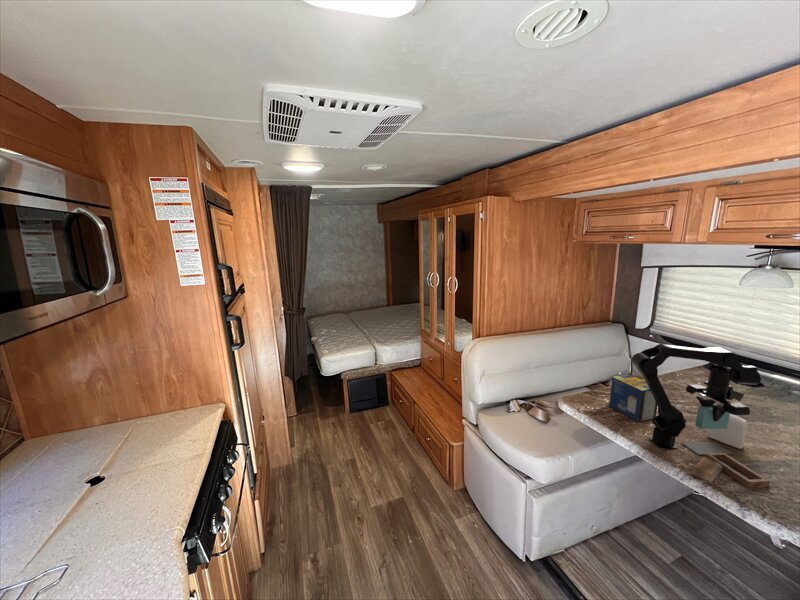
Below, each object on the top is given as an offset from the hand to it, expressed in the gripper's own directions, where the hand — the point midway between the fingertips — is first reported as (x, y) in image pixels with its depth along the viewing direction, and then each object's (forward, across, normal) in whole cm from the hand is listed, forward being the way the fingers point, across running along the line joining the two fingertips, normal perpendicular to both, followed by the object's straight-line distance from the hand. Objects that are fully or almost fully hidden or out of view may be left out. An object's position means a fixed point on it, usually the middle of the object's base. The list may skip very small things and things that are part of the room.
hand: (711, 419), depth 119 cm
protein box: (+13, +28, +8) cm, 32 cm away
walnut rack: (+13, -12, +2) cm, 18 cm away
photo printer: (+13, +4, -12) cm, 18 cm away
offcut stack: (+13, -12, +12) cm, 21 cm away
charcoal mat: (+13, 0, 0) cm, 13 cm away
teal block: (+3, 0, 0) cm, 3 cm away
